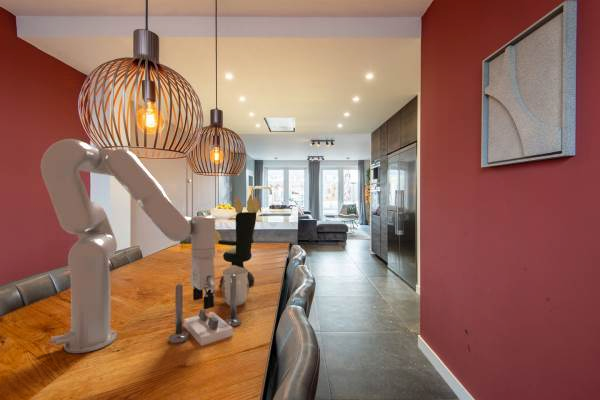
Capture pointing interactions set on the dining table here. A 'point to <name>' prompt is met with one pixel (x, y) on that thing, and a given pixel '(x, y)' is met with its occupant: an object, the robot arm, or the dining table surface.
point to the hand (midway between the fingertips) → (203, 303)
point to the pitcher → (241, 284)
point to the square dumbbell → (212, 320)
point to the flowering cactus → (241, 236)
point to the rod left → (178, 318)
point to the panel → (207, 329)
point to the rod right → (233, 304)
